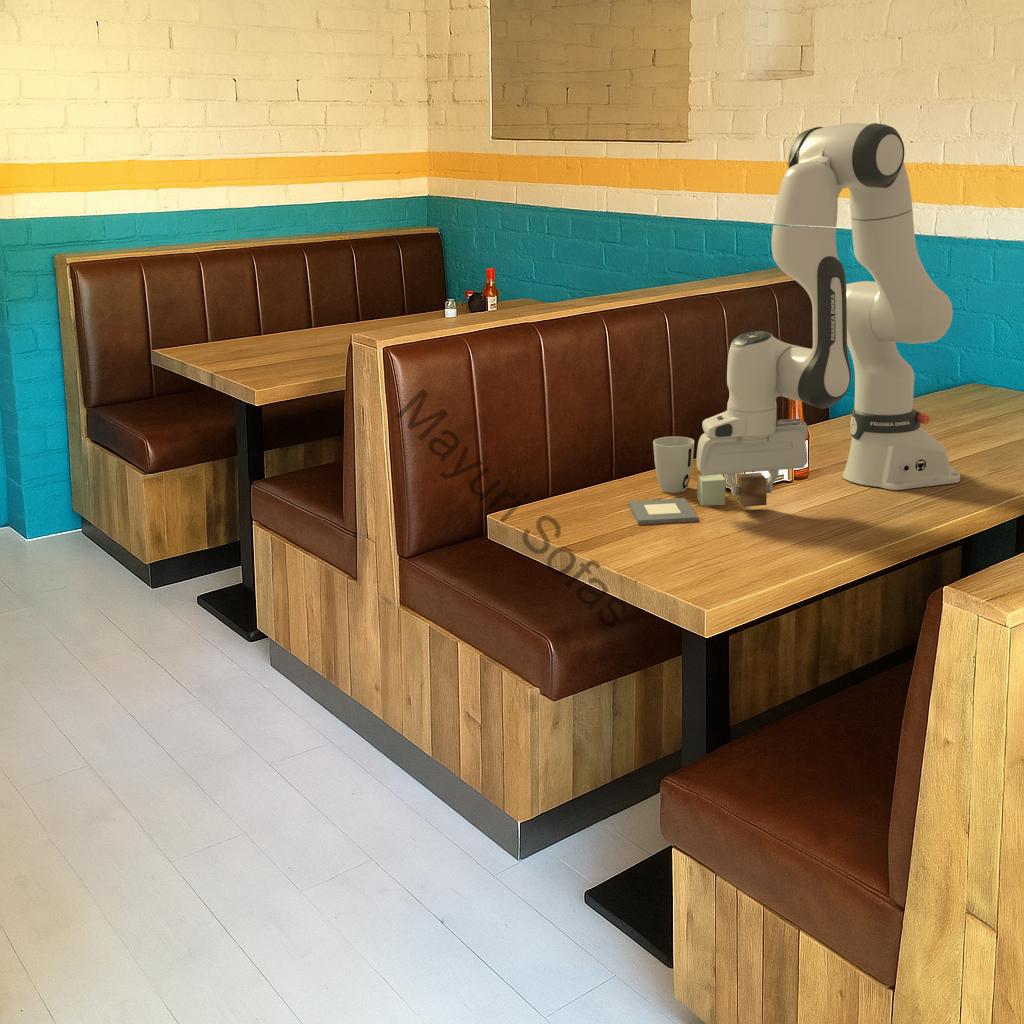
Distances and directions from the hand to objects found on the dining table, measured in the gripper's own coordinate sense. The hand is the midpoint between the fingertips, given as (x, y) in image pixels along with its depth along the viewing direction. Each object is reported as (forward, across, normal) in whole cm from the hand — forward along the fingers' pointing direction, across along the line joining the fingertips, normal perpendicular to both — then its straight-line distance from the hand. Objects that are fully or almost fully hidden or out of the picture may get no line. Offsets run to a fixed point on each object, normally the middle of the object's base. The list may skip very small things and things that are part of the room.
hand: (751, 493), depth 212 cm
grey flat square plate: (+3, +17, -1) cm, 17 cm away
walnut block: (+2, 0, 0) cm, 2 cm away
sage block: (+3, +6, -7) cm, 10 cm away
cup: (+4, +12, -16) cm, 20 cm away
